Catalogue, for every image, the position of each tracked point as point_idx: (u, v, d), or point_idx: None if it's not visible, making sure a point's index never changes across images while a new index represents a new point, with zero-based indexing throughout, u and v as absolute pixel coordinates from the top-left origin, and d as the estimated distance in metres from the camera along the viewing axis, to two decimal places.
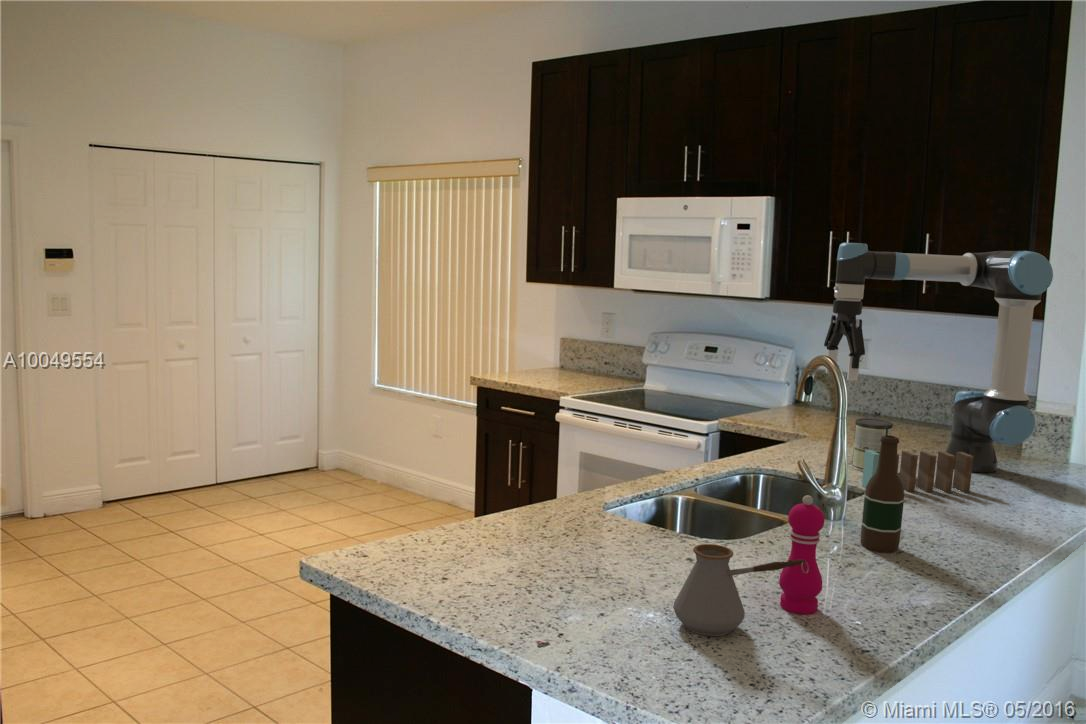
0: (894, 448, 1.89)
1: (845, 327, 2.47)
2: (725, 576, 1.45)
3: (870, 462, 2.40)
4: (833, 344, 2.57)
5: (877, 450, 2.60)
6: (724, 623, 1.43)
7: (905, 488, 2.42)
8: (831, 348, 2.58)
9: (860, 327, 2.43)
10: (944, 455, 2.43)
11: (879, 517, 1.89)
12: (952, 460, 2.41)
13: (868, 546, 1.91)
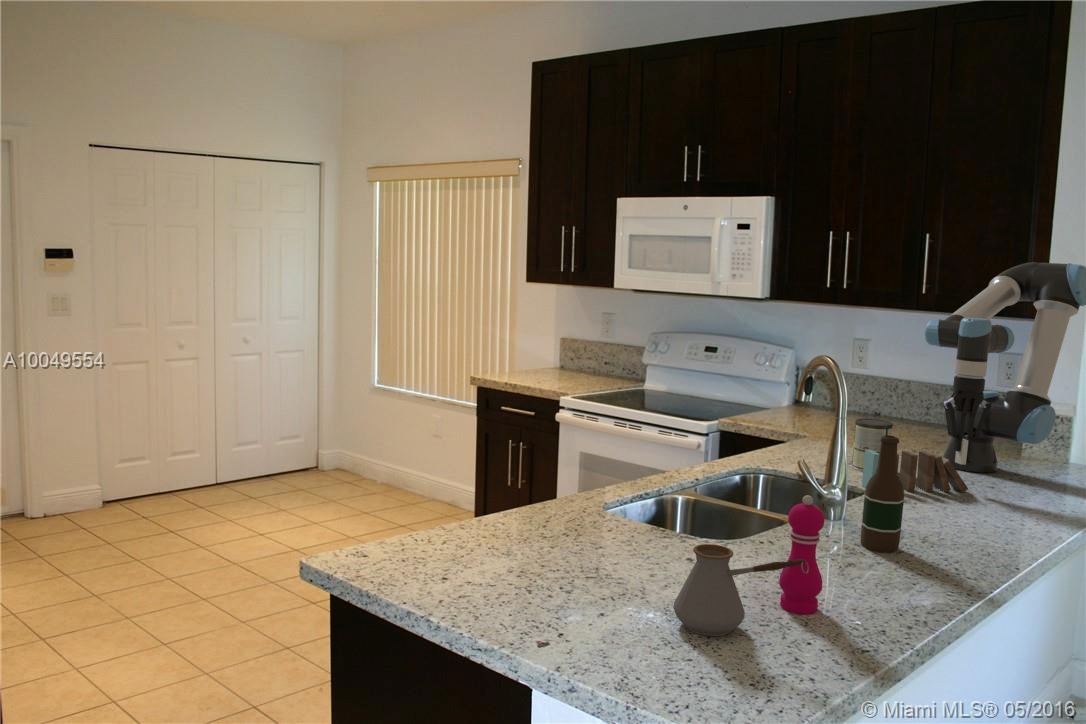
0: (894, 448, 1.89)
1: None
2: (725, 576, 1.45)
3: (870, 462, 2.40)
4: (965, 430, 2.44)
5: (877, 450, 2.60)
6: (724, 623, 1.43)
7: (905, 488, 2.42)
8: (965, 436, 2.44)
9: (949, 410, 2.41)
10: None
11: (879, 517, 1.89)
12: (940, 460, 2.41)
13: (868, 546, 1.91)
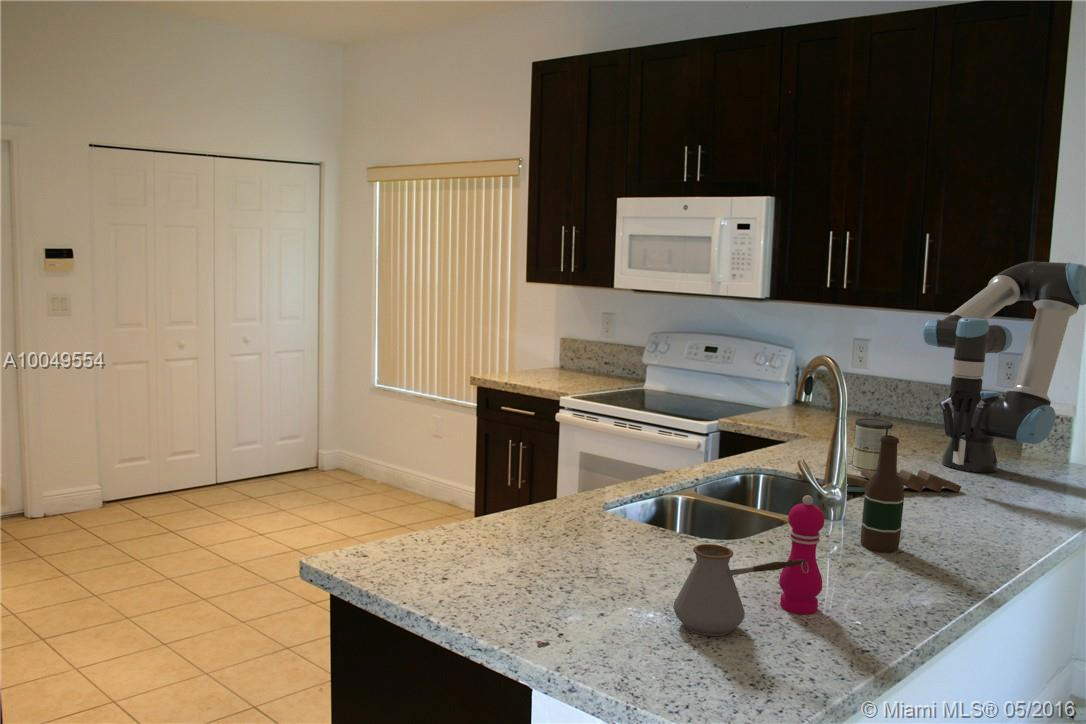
0: (894, 448, 1.89)
1: None
2: (725, 576, 1.45)
3: None
4: (963, 430, 2.44)
5: (877, 450, 2.60)
6: (724, 623, 1.43)
7: None
8: (962, 436, 2.44)
9: (946, 410, 2.41)
10: (905, 478, 2.42)
11: (879, 517, 1.89)
12: (914, 477, 2.40)
13: (868, 546, 1.91)
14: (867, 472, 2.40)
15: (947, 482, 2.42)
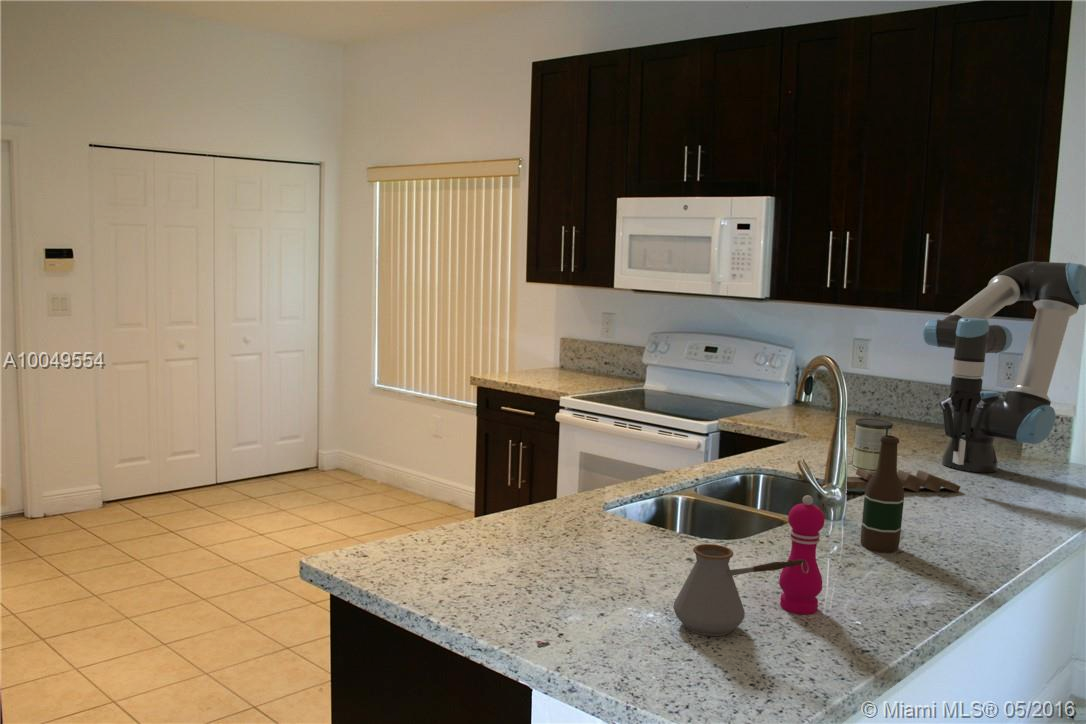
0: (894, 448, 1.89)
1: None
2: (725, 576, 1.45)
3: None
4: (963, 430, 2.44)
5: (877, 450, 2.60)
6: (724, 623, 1.43)
7: None
8: (962, 436, 2.44)
9: (946, 410, 2.41)
10: None
11: (879, 517, 1.89)
12: (911, 477, 2.41)
13: (868, 546, 1.91)
14: (862, 471, 2.40)
15: (946, 482, 2.42)
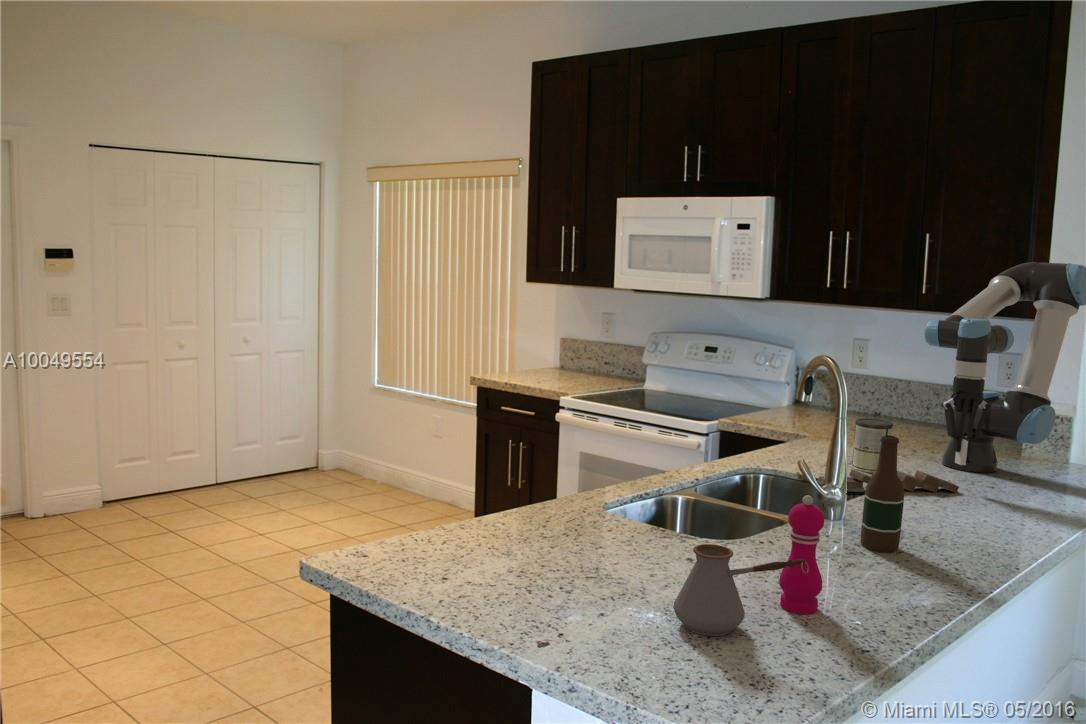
0: (894, 448, 1.89)
1: None
2: (725, 576, 1.45)
3: None
4: (965, 430, 2.44)
5: (877, 450, 2.60)
6: (724, 623, 1.43)
7: None
8: (964, 436, 2.44)
9: (948, 411, 2.41)
10: (900, 479, 2.42)
11: (879, 517, 1.89)
12: (908, 478, 2.40)
13: (868, 546, 1.91)
14: (856, 473, 2.39)
15: (944, 483, 2.42)
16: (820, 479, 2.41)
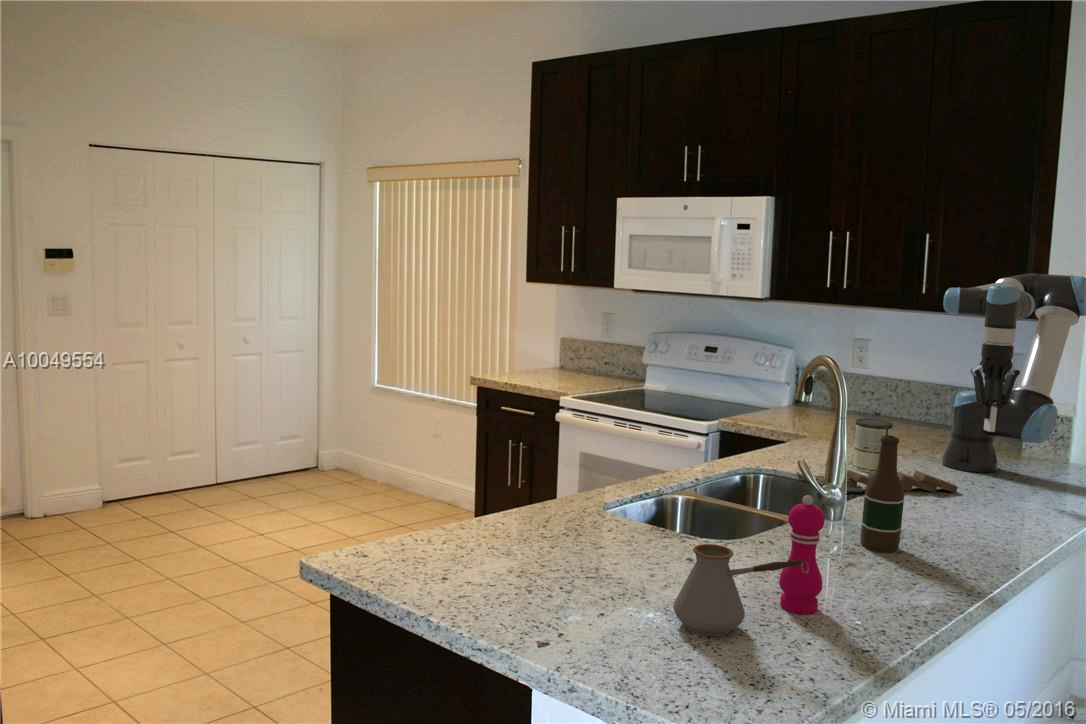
0: (894, 448, 1.89)
1: None
2: (725, 576, 1.45)
3: None
4: (994, 397, 2.44)
5: (877, 450, 2.60)
6: (724, 623, 1.43)
7: None
8: (993, 403, 2.44)
9: (977, 378, 2.41)
10: None
11: (879, 517, 1.89)
12: (906, 478, 2.41)
13: (868, 546, 1.91)
14: (853, 473, 2.39)
15: (943, 483, 2.41)
16: None
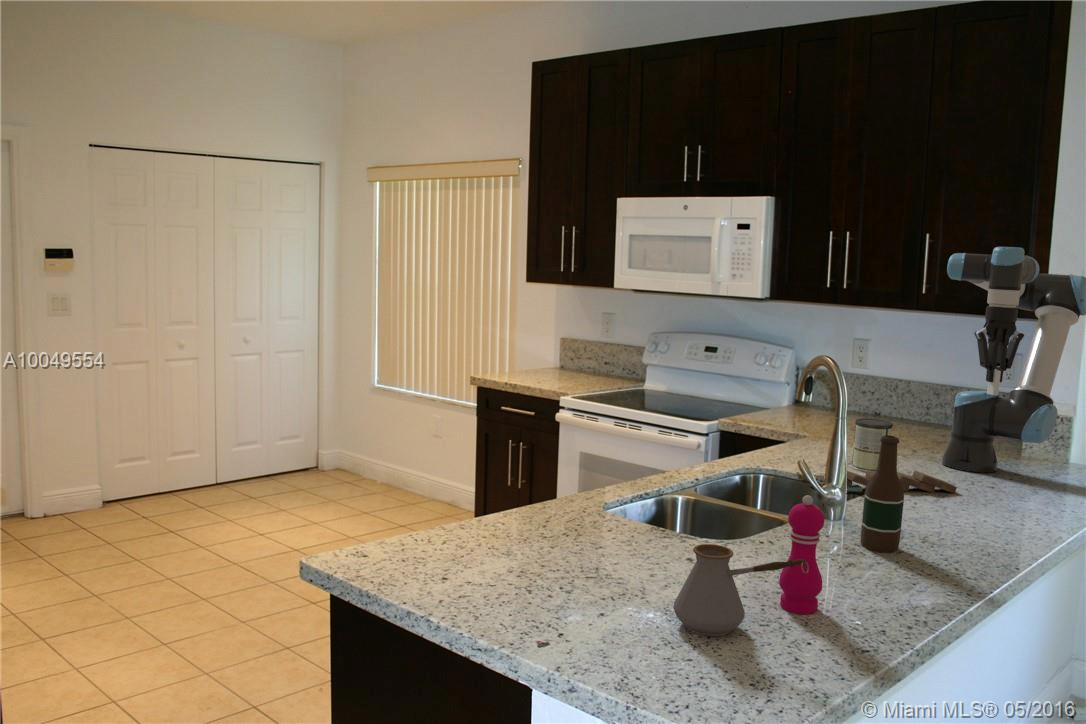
0: (894, 448, 1.89)
1: None
2: (725, 576, 1.45)
3: None
4: (998, 360, 2.42)
5: (877, 450, 2.60)
6: (724, 623, 1.43)
7: None
8: (997, 366, 2.42)
9: (981, 340, 2.40)
10: None
11: (879, 517, 1.89)
12: (904, 479, 2.41)
13: (868, 546, 1.91)
14: (848, 473, 2.39)
15: (942, 483, 2.41)
16: None
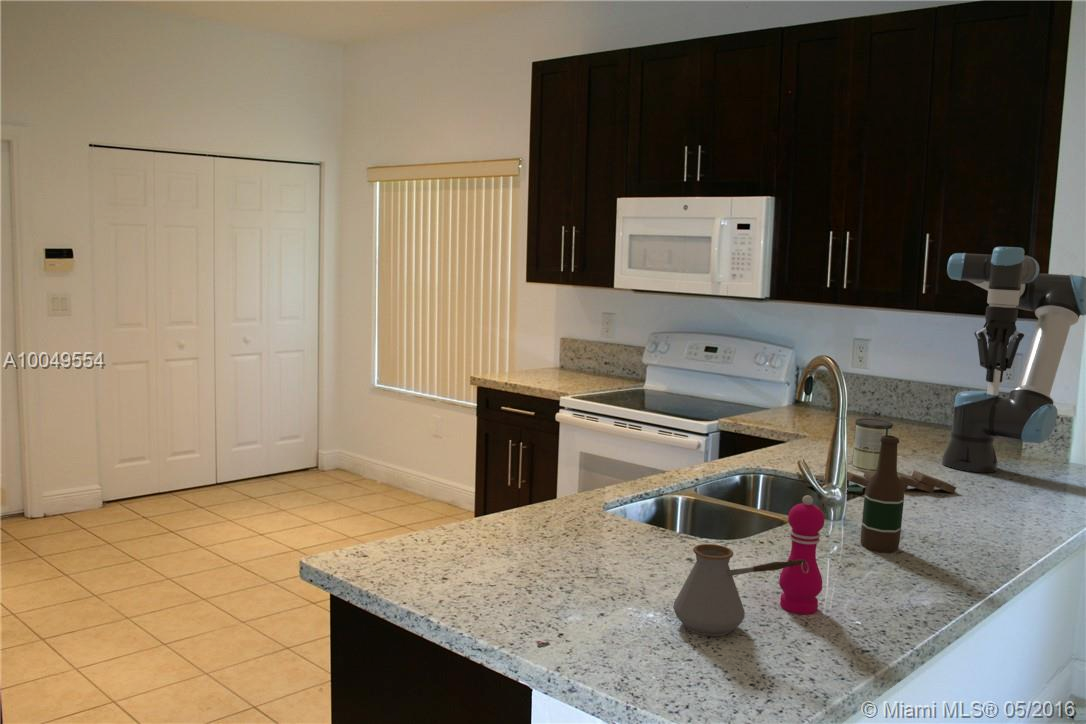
0: (894, 448, 1.89)
1: None
2: (725, 576, 1.45)
3: None
4: (998, 360, 2.42)
5: (877, 450, 2.60)
6: (724, 623, 1.43)
7: None
8: (997, 366, 2.42)
9: (981, 340, 2.40)
10: None
11: (879, 517, 1.89)
12: (903, 479, 2.40)
13: (868, 546, 1.91)
14: None
15: (941, 483, 2.41)
16: None
